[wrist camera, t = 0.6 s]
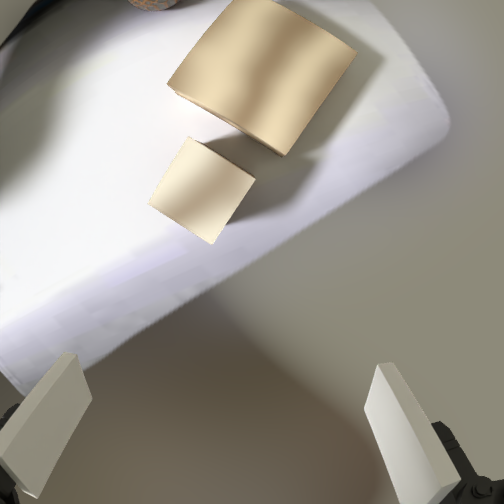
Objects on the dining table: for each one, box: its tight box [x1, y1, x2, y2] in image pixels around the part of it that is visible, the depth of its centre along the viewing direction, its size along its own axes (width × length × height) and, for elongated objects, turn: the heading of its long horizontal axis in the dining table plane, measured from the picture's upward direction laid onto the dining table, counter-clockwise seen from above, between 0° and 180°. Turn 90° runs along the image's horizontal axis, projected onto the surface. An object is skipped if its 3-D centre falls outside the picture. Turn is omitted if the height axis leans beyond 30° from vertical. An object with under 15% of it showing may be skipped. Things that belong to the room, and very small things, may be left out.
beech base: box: [167, 0, 358, 157], centre depth 24 cm, size 12×12×5 cm
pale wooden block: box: [148, 137, 256, 245], centre depth 26 cm, size 6×6×7 cm
